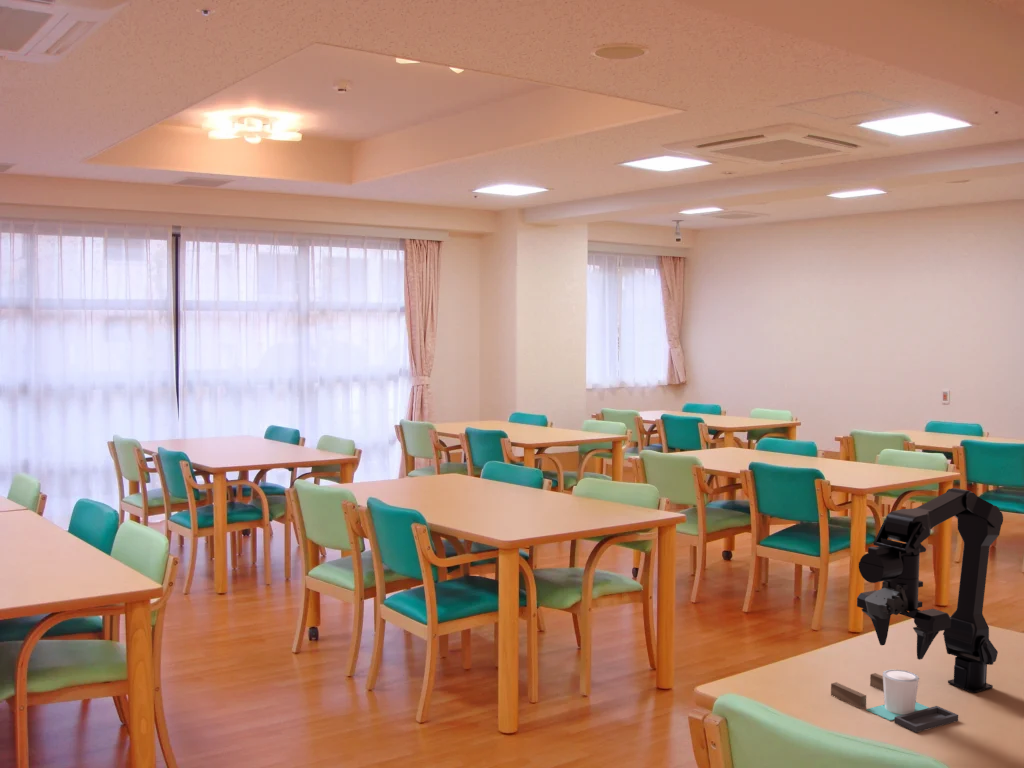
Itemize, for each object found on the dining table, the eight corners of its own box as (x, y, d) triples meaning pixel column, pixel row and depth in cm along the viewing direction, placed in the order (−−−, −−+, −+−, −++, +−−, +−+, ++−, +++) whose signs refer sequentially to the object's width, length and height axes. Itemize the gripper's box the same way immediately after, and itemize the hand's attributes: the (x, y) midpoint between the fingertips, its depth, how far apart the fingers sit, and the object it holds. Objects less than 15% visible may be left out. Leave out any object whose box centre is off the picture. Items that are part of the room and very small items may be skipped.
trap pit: (936, 711, 196) (936, 705, 196) (958, 720, 192) (958, 714, 192) (894, 723, 191) (894, 717, 191) (915, 732, 186) (915, 726, 186)
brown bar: (875, 684, 211) (875, 673, 210) (905, 697, 204) (905, 685, 203) (830, 695, 205) (831, 683, 204) (860, 708, 198) (861, 696, 197)
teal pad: (907, 699, 202) (907, 698, 202) (932, 709, 197) (932, 708, 197) (866, 710, 197) (866, 709, 197) (890, 721, 192) (890, 720, 192)
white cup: (921, 717, 193) (922, 682, 193) (884, 714, 194) (885, 680, 194) (913, 703, 200) (915, 670, 199) (878, 701, 201) (879, 667, 201)
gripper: (838, 569, 200) (836, 644, 201) (914, 592, 183) (911, 673, 184) (877, 563, 205) (874, 636, 206) (954, 585, 188) (951, 664, 189)
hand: (900, 651), depth 196 cm, fingers open, 9 cm apart
